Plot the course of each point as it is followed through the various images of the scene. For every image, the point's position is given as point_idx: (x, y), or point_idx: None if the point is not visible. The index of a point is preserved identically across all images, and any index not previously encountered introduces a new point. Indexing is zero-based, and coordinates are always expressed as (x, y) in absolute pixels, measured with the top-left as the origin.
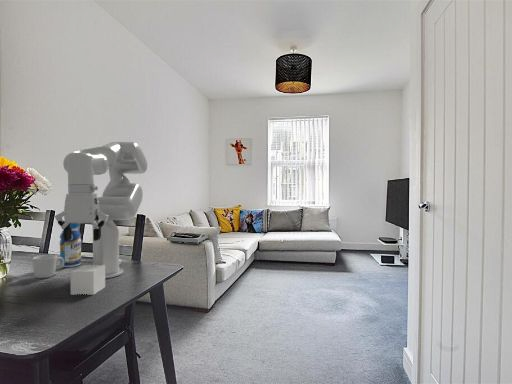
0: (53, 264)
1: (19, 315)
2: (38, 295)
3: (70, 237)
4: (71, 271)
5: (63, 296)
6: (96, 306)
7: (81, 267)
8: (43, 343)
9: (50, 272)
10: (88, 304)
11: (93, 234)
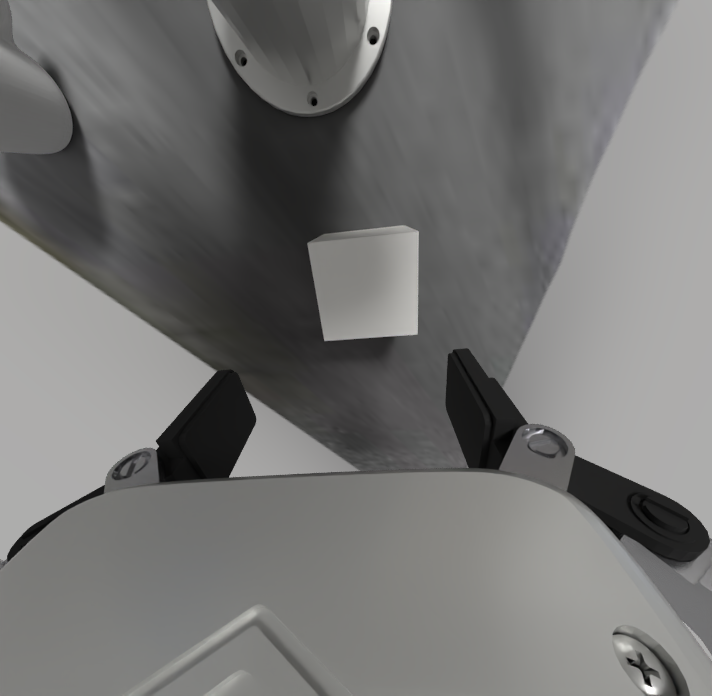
0: (7, 79)
1: (318, 420)
2: (248, 323)
3: (235, 391)
4: (328, 340)
5: None
6: None
7: (328, 285)
8: None
9: (57, 116)
10: (428, 366)
11: (460, 444)
